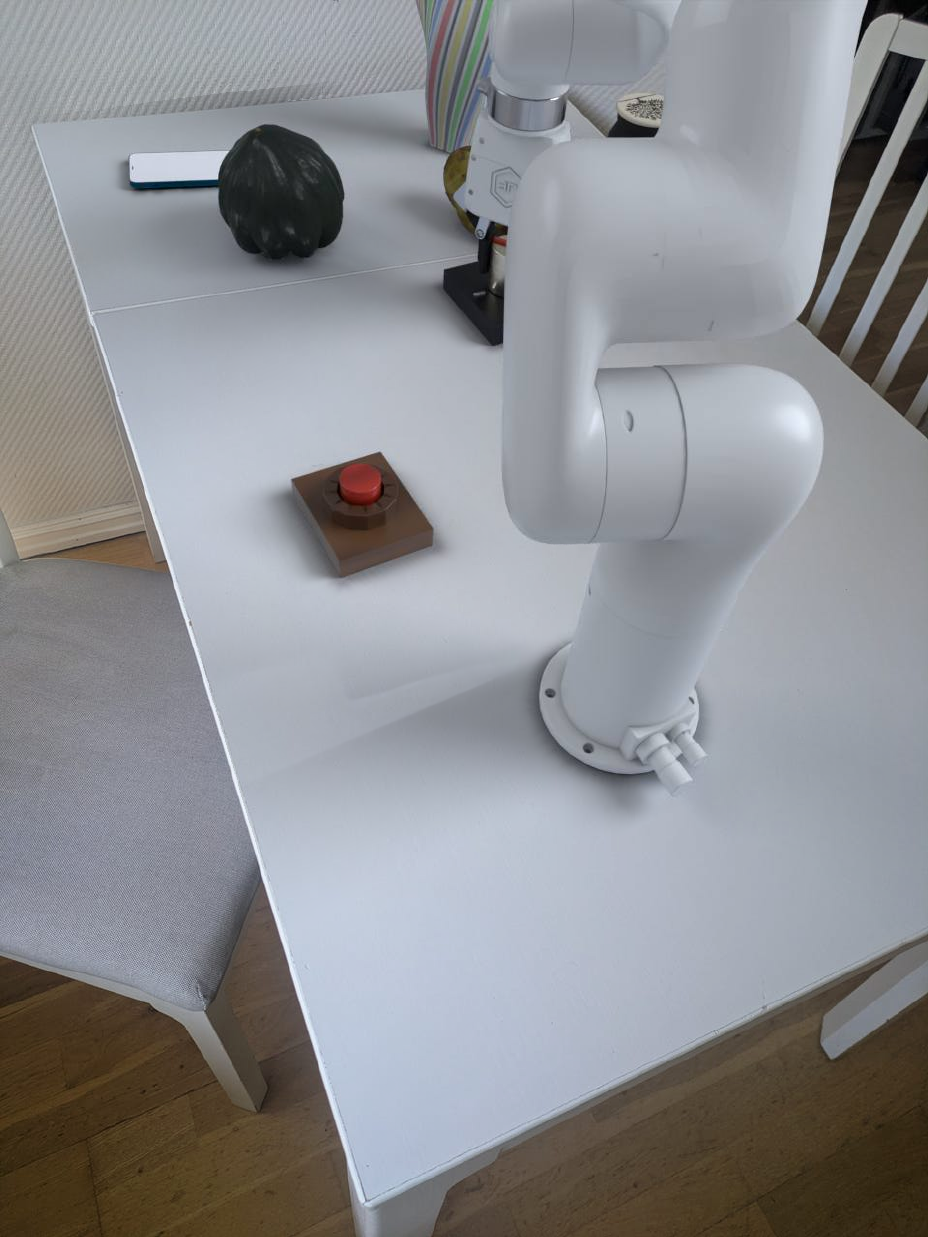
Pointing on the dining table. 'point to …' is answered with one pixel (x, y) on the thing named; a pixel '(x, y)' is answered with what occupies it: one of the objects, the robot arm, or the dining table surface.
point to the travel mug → (637, 116)
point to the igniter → (362, 518)
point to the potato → (455, 178)
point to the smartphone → (175, 168)
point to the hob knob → (497, 265)
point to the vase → (455, 67)
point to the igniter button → (360, 485)
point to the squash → (280, 193)
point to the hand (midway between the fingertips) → (508, 273)
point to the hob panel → (476, 299)
